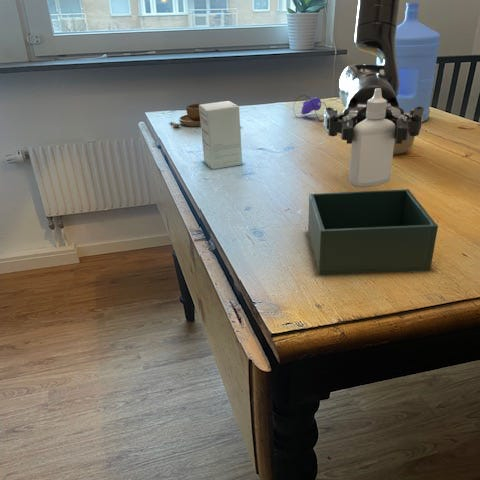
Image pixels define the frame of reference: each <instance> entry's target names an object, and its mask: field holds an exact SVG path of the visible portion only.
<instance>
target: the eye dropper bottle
mask: <svg viewBox="0 0 480 480" xmlns="http://www.w3.org/2000/svg"><path fill="white" fill-rule="evenodd" d="M386 105H387V100H385V99H383V98H382V93H381V88H376V89H375V92H374V96H373V97H372V98H371V99H369V100H368V101H367V110H366V117H367V118H366V119H365V120H363V121H361V122H360V123H358V124H357V125H356V126H355V127H354V129H353V136H352V144H350V145H351V146H350V157H349V169H348V170H349V171H348V182H349V184H351V185H352V186H354V187H356V188H370V187H378V186H381V185H383V184H386V183H388V182H389V181H390V179H391V174H392V166H393V157H394V154H393V150H394V141H395V131H396V126H395V124H394V123H393V122H392V121H390V120H388V119H385V118H384V117H385V114H386Z"/></svg>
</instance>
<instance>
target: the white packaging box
mask: <svg viewBox="0 0 480 480" xmlns="http://www.w3.org/2000/svg"><path fill="white" fill-rule="evenodd" d="M200 104H201V105H199V113H200V123H201V126H200V132H201V142H202V143H201V144H202V155H203V161H204V162H205V163H206V164H207V166H209V167H210V168H211V169H212V170H218V169H222V168H227V167H228V168H229V167H235V166H241V165H243V153H242V152H243V151H242V136H241V119H240V117H241V116H240V106H239V105H237V104H235V103H234V102H232V101H230V100H226V101H217V102H209V103H200Z"/></svg>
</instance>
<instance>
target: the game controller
mask: <svg viewBox="0 0 480 480" xmlns="http://www.w3.org/2000/svg"><path fill="white" fill-rule="evenodd" d="M301 97H306V98H308V99H309V100H308V99H307V100H305V101H303V102H302V108H301V111H300V112H301V115H307V116H302V117H301V119H304V118H307V117H311V116H314V115H315V116H316V118H317V119H318V121H319V122H324V118H323V119H322V120H320V119H319V116H318V113H317V111H319V110H320V109H321V108H322V103H323V104H324V105H326V103H325V102H324V101H321V99H320V98H319V97H312V98H310V97H309V96H307V95H300V96H299V97H297V98H296V100H295V101H294V103H293V105H295V103H296V102H297V100H298V99H299V98H301ZM325 108H328V107H327V106H325ZM294 109H295V106H293V108H292V110H293V114H294V116H295V117H296V118H297V119H300V117H298V116H297V115H296V114H295V110H294ZM313 111H314V114H310V113H312V112H313ZM308 114H310V115H308ZM319 115H323V114H322V113H319Z"/></svg>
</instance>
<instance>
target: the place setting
mask: <svg viewBox="0 0 480 480" xmlns="http://www.w3.org/2000/svg"><path fill="white" fill-rule="evenodd" d="M201 104H202V103H193V104H188V105H186V106H185V109H186V114H184V115H181V116H179V118H178V121H179V123H176V122H173V121H171V122H170V124H173V127H180V125H182V126H185V127H193V128H195V127H196V128H198V127H201V123H200V113H199V105H201Z"/></svg>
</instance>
